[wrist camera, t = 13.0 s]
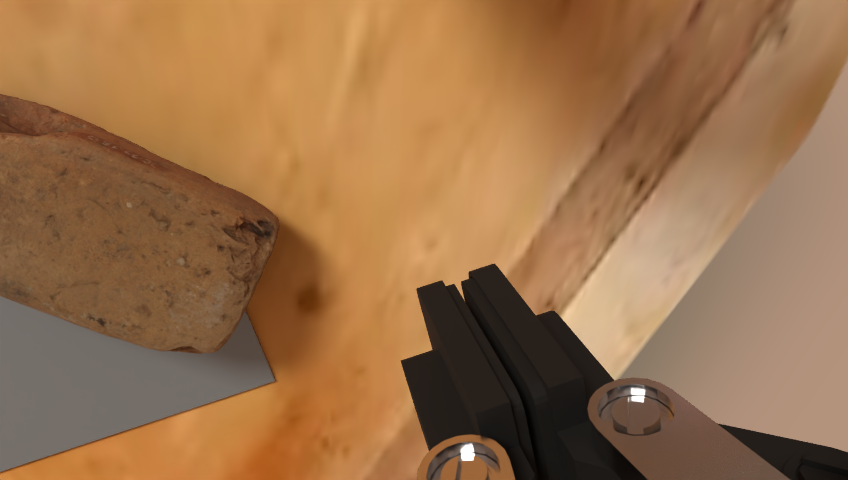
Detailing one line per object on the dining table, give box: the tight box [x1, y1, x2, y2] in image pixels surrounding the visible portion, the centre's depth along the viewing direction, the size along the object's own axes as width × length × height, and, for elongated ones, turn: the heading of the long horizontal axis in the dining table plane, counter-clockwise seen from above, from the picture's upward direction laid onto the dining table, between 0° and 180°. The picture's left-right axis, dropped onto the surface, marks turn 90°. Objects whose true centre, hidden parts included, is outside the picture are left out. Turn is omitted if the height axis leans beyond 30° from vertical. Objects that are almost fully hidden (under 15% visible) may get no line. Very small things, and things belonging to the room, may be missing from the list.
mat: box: [0, 296, 275, 472], centre depth 43 cm, size 22×14×1 cm, turn 104°
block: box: [0, 94, 279, 354], centre depth 36 cm, size 11×8×20 cm
